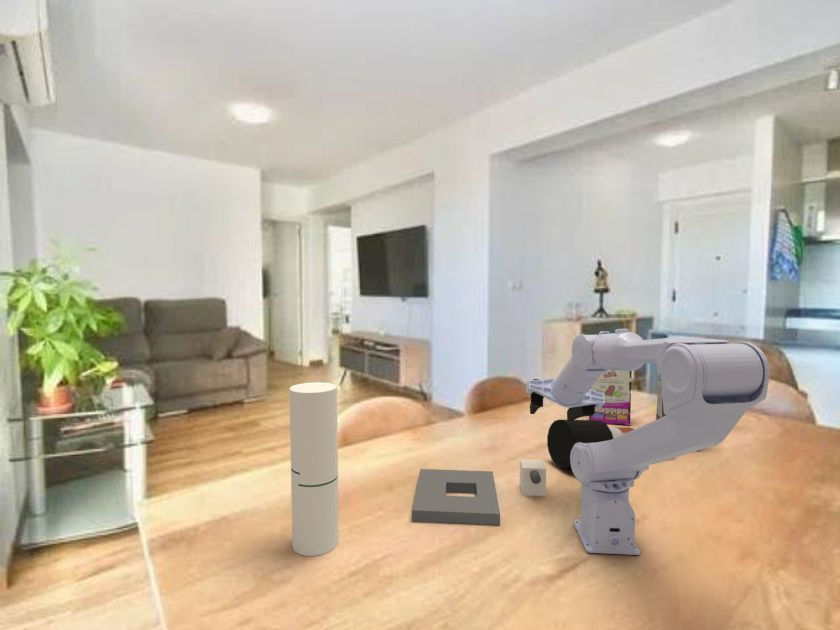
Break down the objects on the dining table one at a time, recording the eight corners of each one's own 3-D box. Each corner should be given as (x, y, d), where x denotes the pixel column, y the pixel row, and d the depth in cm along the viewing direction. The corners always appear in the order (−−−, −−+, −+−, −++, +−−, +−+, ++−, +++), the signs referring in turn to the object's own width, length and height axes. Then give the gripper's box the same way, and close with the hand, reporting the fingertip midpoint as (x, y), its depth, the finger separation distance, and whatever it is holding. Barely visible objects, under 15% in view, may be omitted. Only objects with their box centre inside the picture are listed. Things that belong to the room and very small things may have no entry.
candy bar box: (628, 421, 142) (630, 365, 140) (630, 426, 137) (632, 369, 136) (587, 418, 145) (589, 363, 144) (588, 422, 140) (590, 366, 139)
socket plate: (499, 525, 82) (500, 513, 82) (411, 521, 83) (411, 510, 83) (492, 480, 100) (492, 471, 100) (420, 478, 101) (420, 468, 101)
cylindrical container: (319, 526, 82) (317, 380, 80) (347, 541, 77) (346, 386, 75) (283, 544, 76) (279, 387, 74) (311, 561, 72) (309, 395, 70)
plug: (547, 501, 91) (548, 473, 91) (523, 500, 92) (524, 472, 91) (541, 486, 98) (542, 460, 97) (519, 485, 98) (520, 459, 97)
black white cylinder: (684, 474, 115) (706, 443, 110) (562, 477, 104) (581, 443, 99) (657, 442, 123) (676, 412, 118) (542, 442, 112) (558, 409, 108)
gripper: (612, 368, 90) (583, 402, 101) (536, 353, 90) (515, 389, 100) (616, 402, 86) (586, 433, 96) (536, 386, 85) (514, 420, 96)
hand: (550, 413), depth 98 cm, fingers open, 7 cm apart
